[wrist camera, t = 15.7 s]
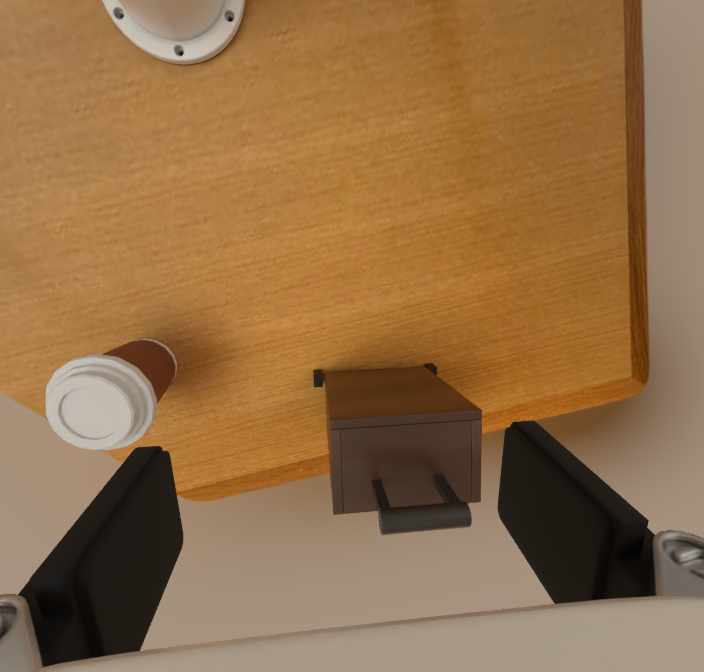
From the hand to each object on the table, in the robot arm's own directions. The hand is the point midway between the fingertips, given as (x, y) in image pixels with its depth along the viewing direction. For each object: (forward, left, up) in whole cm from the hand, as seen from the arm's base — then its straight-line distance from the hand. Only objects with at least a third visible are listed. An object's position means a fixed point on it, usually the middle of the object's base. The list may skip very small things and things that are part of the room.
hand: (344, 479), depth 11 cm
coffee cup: (+8, -20, -34) cm, 41 cm away
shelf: (+8, +6, -23) cm, 25 cm away
